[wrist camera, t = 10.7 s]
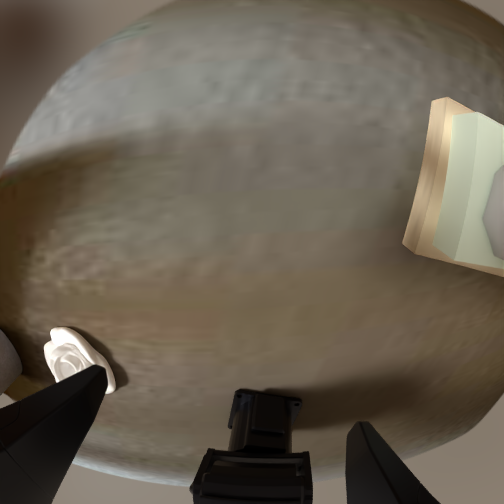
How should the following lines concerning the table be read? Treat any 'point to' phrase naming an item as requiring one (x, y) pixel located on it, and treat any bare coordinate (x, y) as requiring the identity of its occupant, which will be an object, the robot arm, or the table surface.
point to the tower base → (435, 186)
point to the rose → (73, 355)
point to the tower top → (470, 189)
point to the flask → (496, 214)
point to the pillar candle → (8, 363)
